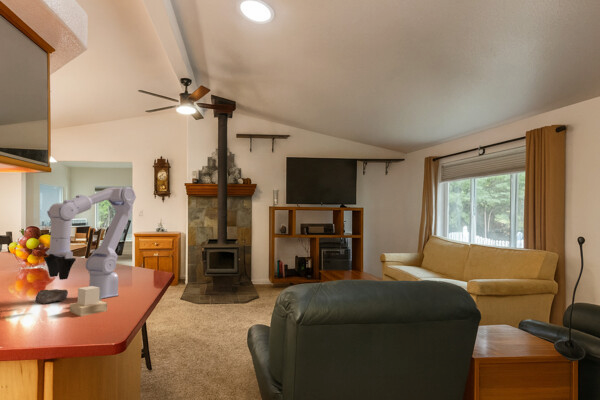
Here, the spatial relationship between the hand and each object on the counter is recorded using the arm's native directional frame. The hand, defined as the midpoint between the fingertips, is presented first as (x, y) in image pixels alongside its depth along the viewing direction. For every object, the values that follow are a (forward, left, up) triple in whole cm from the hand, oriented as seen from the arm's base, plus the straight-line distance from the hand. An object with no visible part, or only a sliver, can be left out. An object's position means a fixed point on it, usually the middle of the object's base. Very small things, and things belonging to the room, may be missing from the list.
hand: (58, 277), depth 119 cm
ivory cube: (-4, +13, -7) cm, 15 cm away
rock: (-3, -11, -10) cm, 16 cm away
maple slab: (-4, +13, -10) cm, 17 cm away
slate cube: (-8, +6, -10) cm, 14 cm away
